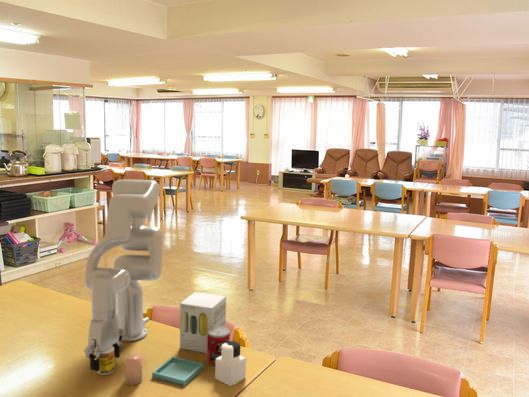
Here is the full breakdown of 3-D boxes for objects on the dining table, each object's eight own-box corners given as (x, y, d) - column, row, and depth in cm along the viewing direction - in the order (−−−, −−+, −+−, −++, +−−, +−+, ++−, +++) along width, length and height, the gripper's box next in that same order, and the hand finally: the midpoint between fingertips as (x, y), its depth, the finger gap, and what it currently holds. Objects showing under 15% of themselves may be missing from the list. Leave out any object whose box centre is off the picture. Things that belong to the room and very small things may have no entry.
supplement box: (178, 348, 172) (178, 302, 169) (194, 334, 184) (194, 291, 182) (212, 354, 168) (213, 308, 165) (226, 339, 180) (226, 295, 178)
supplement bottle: (99, 377, 151) (98, 347, 149) (94, 369, 155) (93, 340, 154) (116, 373, 154) (116, 343, 152) (111, 365, 158) (111, 336, 157)
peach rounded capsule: (132, 375, 152) (132, 352, 151) (145, 379, 151) (145, 355, 149) (122, 383, 148) (122, 359, 147) (135, 386, 146) (135, 362, 145)
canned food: (209, 367, 159) (209, 336, 157) (205, 356, 167) (205, 326, 165) (231, 365, 161) (232, 334, 160) (226, 354, 169) (227, 325, 167)
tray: (172, 361, 163) (172, 356, 162) (203, 368, 158) (203, 363, 158) (152, 377, 151) (152, 372, 151) (184, 386, 147) (184, 380, 147)
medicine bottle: (229, 370, 157) (230, 336, 156) (245, 378, 153) (246, 343, 151) (214, 379, 152) (215, 344, 150) (230, 387, 147) (231, 351, 146)
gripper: (112, 302, 161) (113, 349, 163) (75, 321, 145) (76, 373, 147) (131, 306, 158) (131, 354, 161) (94, 325, 142) (96, 378, 145)
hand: (105, 363), depth 154 cm, fingers open, 9 cm apart
